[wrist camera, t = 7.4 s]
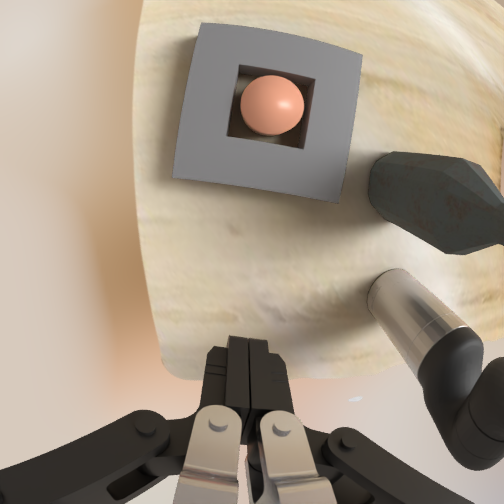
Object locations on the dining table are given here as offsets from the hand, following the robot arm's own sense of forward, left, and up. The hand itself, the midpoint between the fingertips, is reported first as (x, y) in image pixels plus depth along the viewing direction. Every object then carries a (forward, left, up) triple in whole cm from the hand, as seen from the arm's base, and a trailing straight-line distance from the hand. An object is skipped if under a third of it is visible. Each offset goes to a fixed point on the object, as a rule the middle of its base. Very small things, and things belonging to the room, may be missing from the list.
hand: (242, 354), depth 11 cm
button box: (-1, -14, -28) cm, 31 cm away
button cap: (-1, -14, -27) cm, 30 cm away
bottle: (-21, -8, -28) cm, 36 cm away
